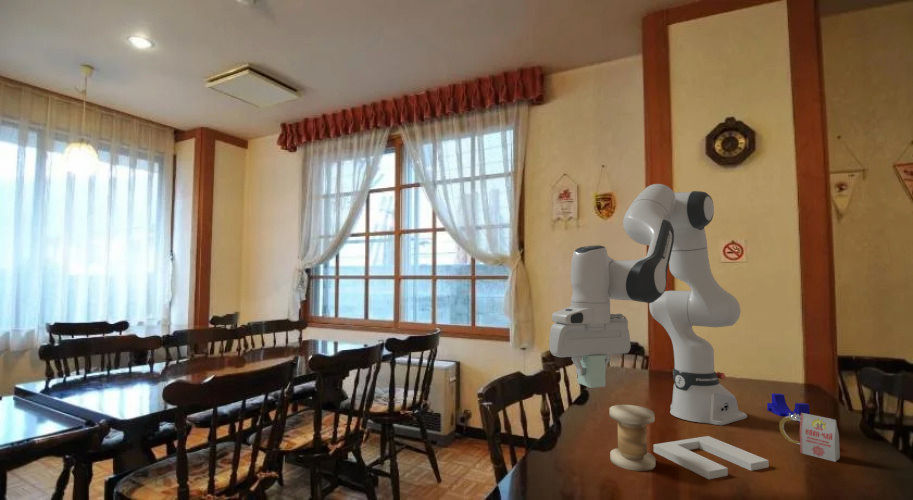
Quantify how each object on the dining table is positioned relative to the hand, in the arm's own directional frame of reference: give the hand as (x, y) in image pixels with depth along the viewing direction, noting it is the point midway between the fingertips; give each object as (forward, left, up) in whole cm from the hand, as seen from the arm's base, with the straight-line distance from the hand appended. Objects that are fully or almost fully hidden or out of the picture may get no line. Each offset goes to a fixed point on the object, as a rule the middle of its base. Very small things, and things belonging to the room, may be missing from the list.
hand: (591, 374), depth 102 cm
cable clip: (-80, -11, -22) cm, 83 cm away
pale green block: (0, 0, -2) cm, 2 cm away
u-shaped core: (-29, +5, -21) cm, 36 cm away
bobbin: (-11, 0, -21) cm, 24 cm away
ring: (-59, +5, -22) cm, 63 cm away
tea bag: (-56, +13, -22) cm, 61 cm away
